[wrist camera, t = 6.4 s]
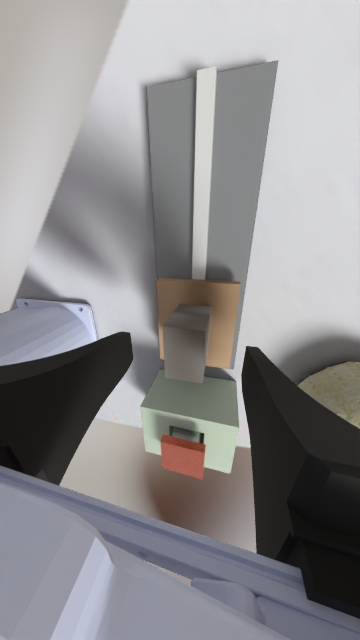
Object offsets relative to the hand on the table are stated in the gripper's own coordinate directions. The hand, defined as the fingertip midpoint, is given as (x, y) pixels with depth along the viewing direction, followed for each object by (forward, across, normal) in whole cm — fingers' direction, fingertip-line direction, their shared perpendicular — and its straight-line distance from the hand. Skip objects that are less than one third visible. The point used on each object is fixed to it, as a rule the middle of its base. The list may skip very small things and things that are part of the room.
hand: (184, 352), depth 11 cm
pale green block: (+6, 0, +10) cm, 11 cm away
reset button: (+1, 0, +10) cm, 10 cm away
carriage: (+4, 0, 0) cm, 4 cm away
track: (+6, 0, -5) cm, 8 cm away
